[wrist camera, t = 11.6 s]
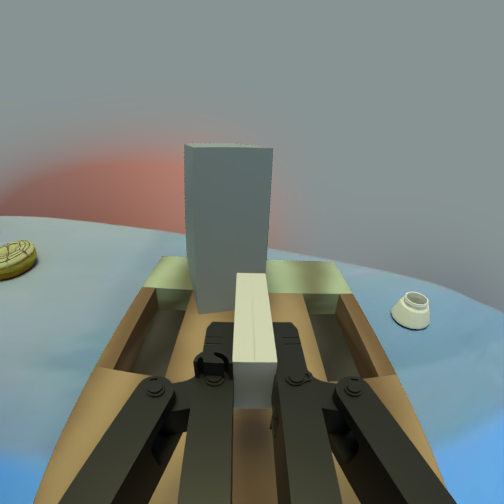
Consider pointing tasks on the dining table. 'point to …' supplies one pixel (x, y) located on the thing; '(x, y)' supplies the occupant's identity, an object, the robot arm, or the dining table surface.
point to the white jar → (412, 311)
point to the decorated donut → (16, 258)
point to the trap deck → (191, 344)
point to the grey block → (225, 218)
